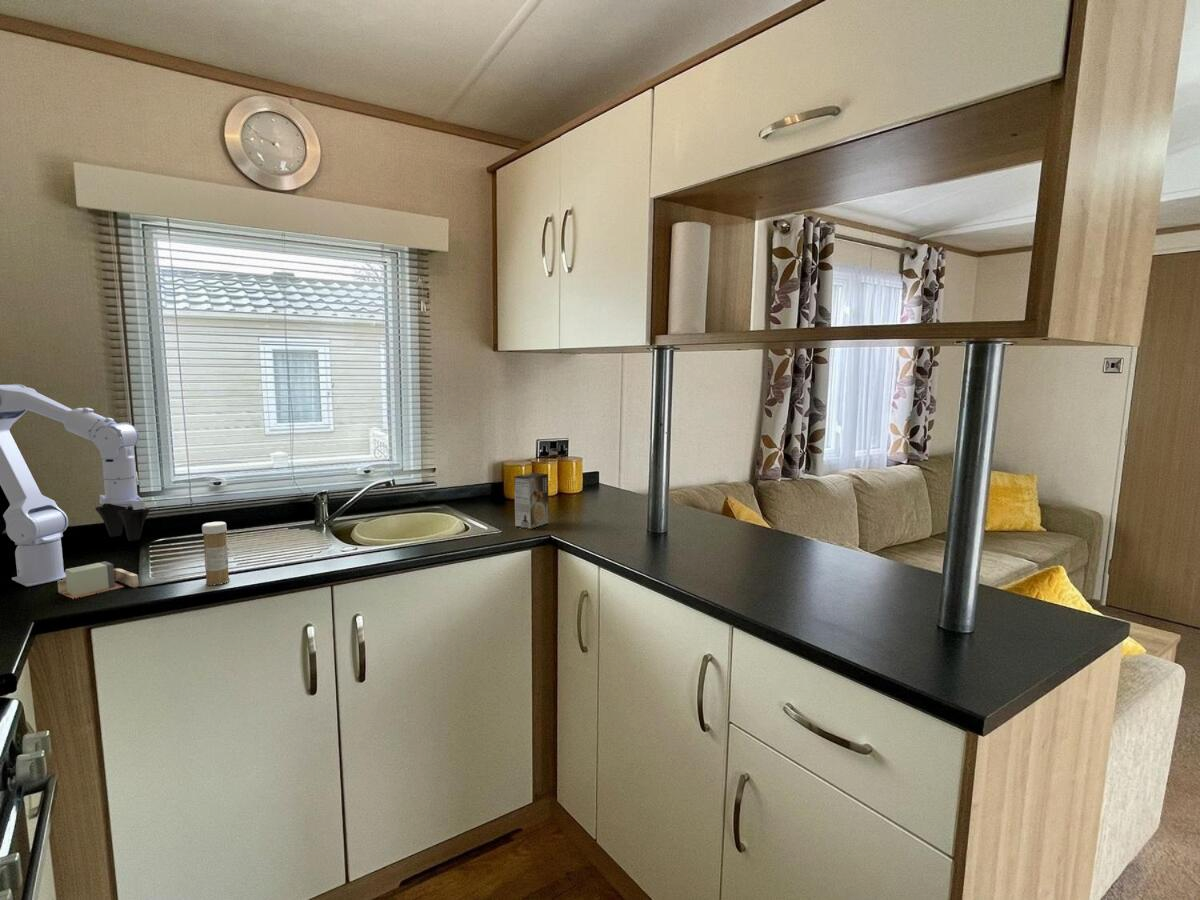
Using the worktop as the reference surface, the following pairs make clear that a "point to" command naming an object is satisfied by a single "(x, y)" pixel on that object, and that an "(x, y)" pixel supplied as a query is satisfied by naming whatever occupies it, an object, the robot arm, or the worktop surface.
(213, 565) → the sprinkles bottle
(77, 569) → the sage block
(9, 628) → the worktop surface
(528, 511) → the coffee box
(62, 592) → the corner arena
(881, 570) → the worktop surface
